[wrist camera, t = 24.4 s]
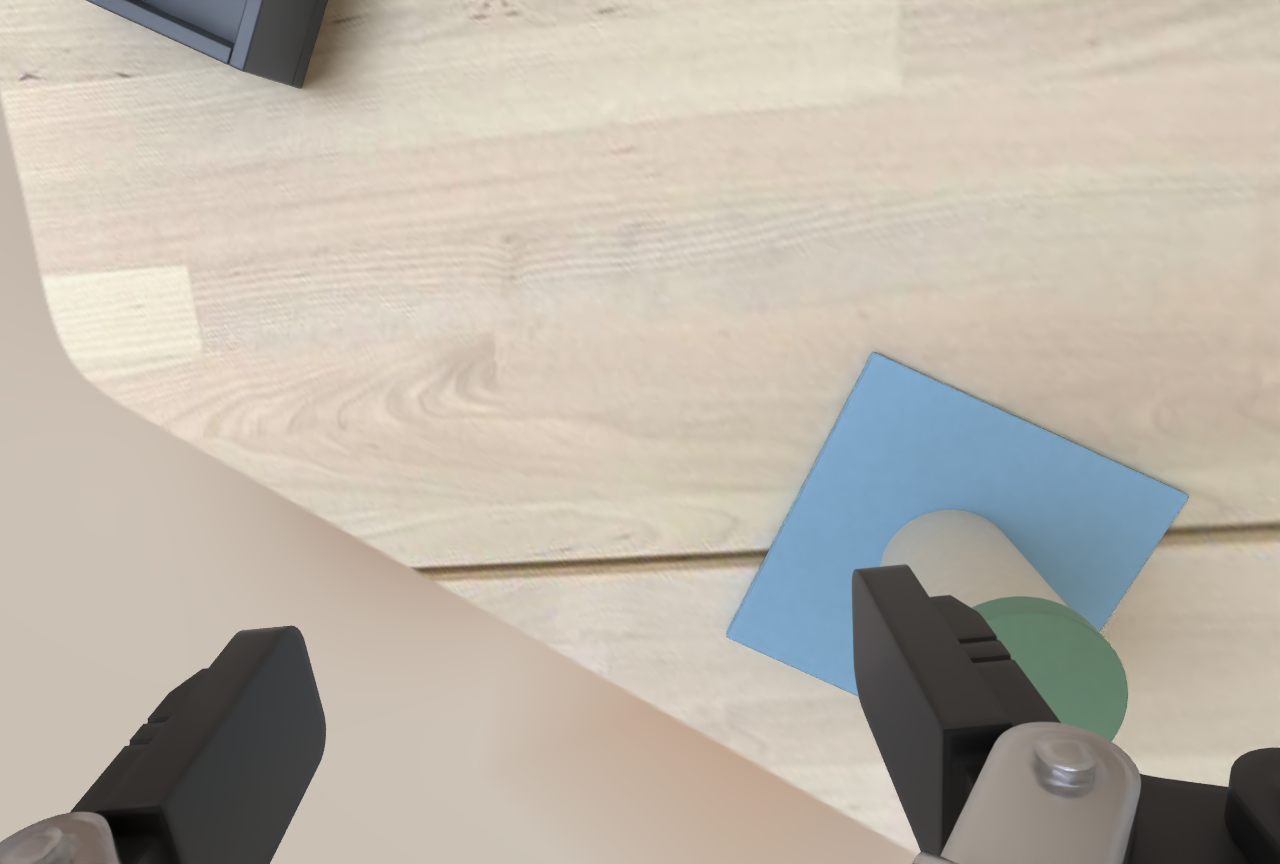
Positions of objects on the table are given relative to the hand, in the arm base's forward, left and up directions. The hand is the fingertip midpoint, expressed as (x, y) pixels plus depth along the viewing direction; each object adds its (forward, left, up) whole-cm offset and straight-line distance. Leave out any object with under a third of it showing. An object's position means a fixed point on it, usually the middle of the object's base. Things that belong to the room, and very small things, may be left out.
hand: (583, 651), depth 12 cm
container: (-3, -14, -24) cm, 28 cm away
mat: (-3, -14, -24) cm, 28 cm away
